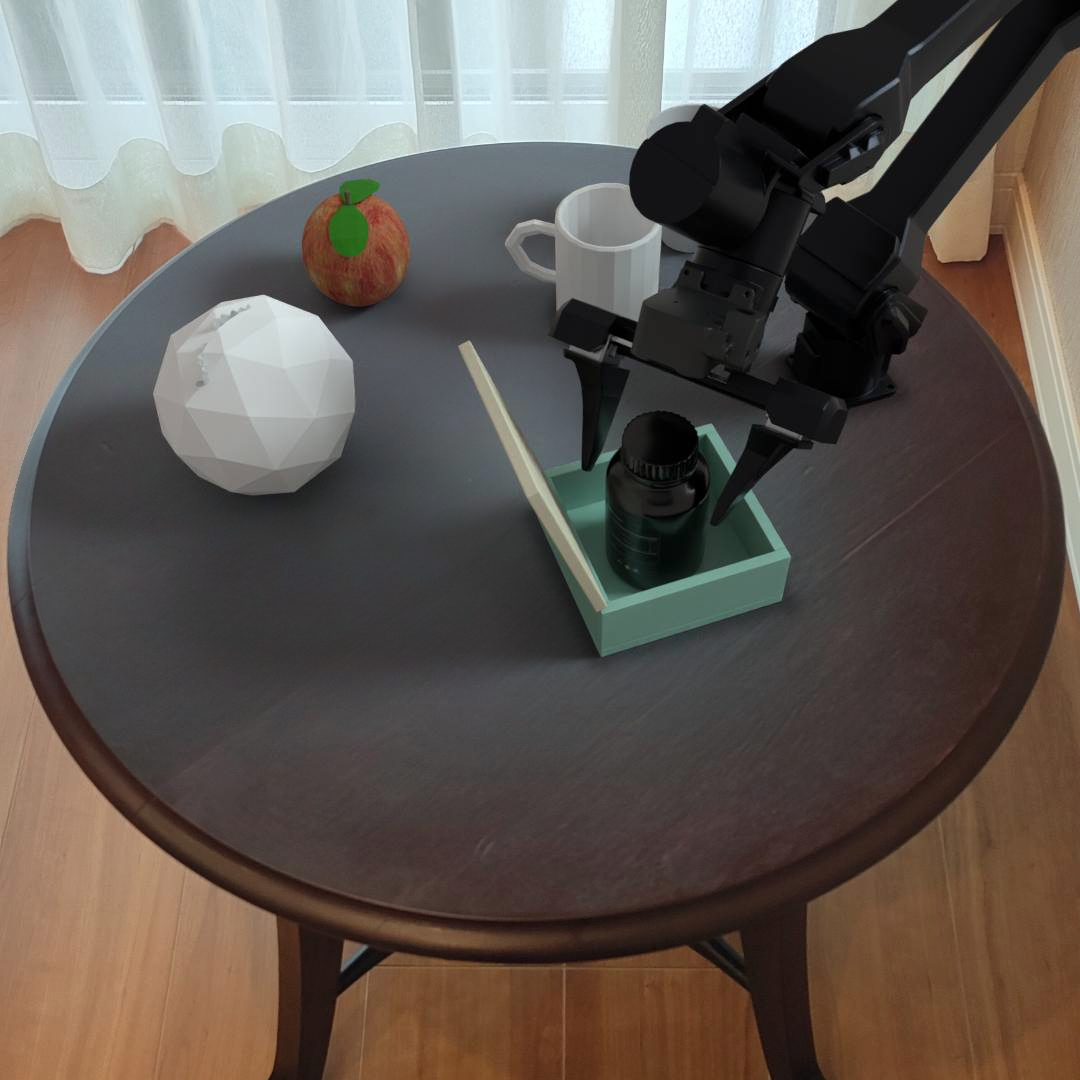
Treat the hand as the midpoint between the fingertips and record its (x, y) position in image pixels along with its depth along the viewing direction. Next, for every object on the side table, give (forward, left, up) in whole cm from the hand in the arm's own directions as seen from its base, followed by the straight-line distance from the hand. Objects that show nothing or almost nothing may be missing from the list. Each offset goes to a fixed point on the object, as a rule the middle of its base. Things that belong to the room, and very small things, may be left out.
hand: (648, 497), depth 84 cm
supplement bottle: (-1, -1, -8) cm, 8 cm away
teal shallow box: (-1, -1, -8) cm, 8 cm away
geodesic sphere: (+22, -19, -8) cm, 30 cm away
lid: (+7, -1, +4) cm, 8 cm away
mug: (-5, -26, -8) cm, 28 cm away
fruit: (+11, -35, -8) cm, 38 cm away
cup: (-17, -32, -8) cm, 38 cm away
